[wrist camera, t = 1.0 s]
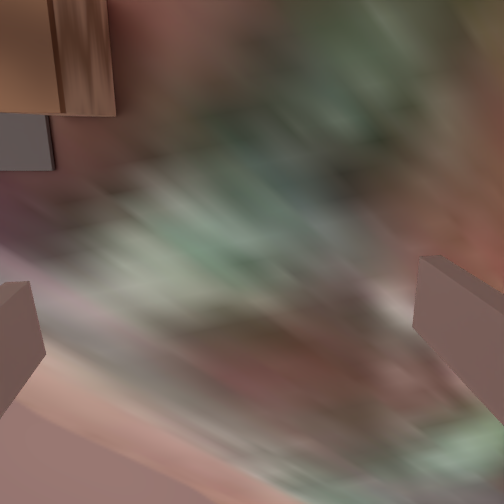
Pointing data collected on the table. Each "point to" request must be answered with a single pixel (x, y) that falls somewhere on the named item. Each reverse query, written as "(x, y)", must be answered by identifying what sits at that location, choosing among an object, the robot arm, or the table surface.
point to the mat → (25, 143)
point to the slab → (56, 58)
